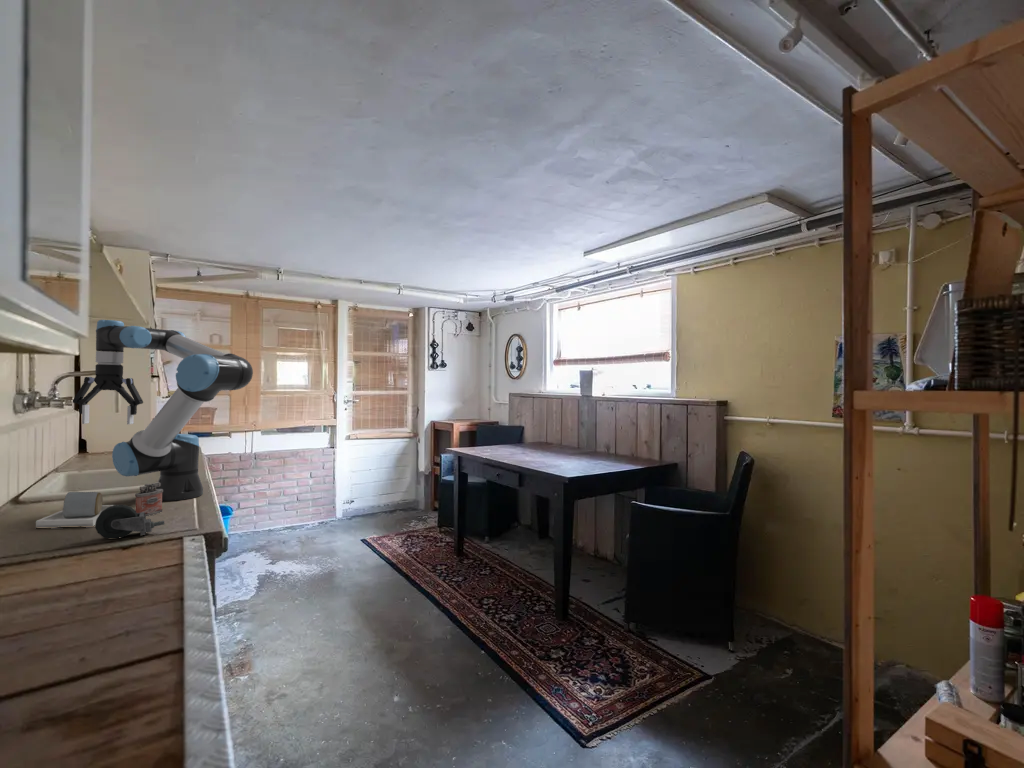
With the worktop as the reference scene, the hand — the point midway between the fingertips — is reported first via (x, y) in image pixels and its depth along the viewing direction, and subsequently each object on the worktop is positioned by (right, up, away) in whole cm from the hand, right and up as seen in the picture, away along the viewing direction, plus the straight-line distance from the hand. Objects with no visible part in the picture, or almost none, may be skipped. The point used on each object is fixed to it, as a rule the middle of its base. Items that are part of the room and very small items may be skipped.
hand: (108, 423), depth 170 cm
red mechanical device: (+26, -28, -16) cm, 42 cm away
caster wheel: (+36, -29, -35) cm, 58 cm away
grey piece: (+11, -27, -22) cm, 36 cm away
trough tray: (+12, -28, -23) cm, 38 cm away
